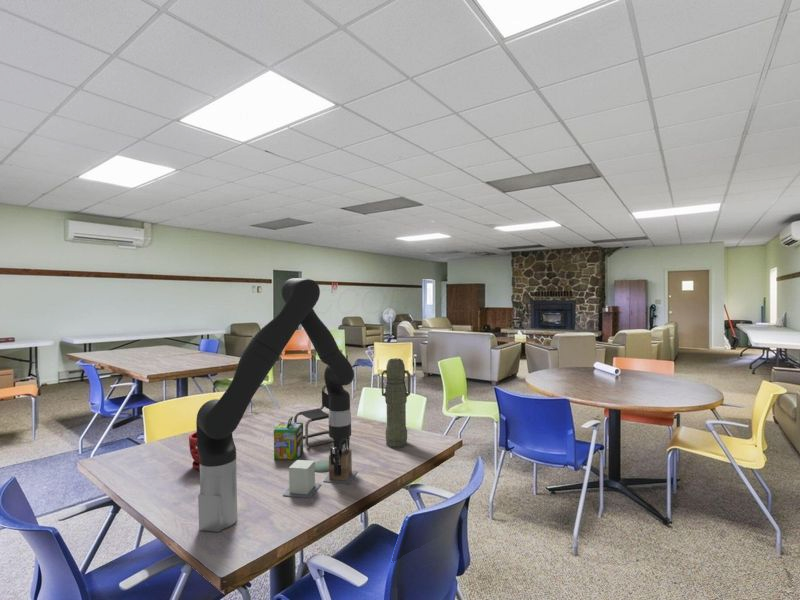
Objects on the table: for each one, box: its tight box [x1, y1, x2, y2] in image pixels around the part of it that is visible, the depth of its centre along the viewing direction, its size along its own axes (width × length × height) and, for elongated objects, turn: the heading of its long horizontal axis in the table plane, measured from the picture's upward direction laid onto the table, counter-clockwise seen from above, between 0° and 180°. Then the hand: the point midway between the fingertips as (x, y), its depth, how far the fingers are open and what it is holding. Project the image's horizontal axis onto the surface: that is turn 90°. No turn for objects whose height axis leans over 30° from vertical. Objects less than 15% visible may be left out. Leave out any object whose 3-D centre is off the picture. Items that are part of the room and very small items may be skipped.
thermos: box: [380, 357, 411, 449], centre depth 171 cm, size 9×12×35 cm
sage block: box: [288, 459, 316, 494], centre depth 132 cm, size 6×6×8 cm
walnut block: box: [328, 449, 353, 480], centre depth 141 cm, size 6×6×8 cm
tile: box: [322, 470, 358, 485], centre depth 141 cm, size 9×9×1 cm
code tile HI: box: [282, 482, 322, 499], centre depth 132 cm, size 9×9×1 cm
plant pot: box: [188, 431, 200, 471], centre depth 152 cm, size 13×13×12 cm
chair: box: [293, 383, 334, 448], centre depth 177 cm, size 13×17×22 cm
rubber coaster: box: [315, 460, 329, 473], centre depth 150 cm, size 9×9×1 cm
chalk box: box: [273, 415, 304, 461], centre depth 160 cm, size 9×9×15 cm
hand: (340, 470), depth 141 cm, fingers closed on walnut block, 6 cm apart
